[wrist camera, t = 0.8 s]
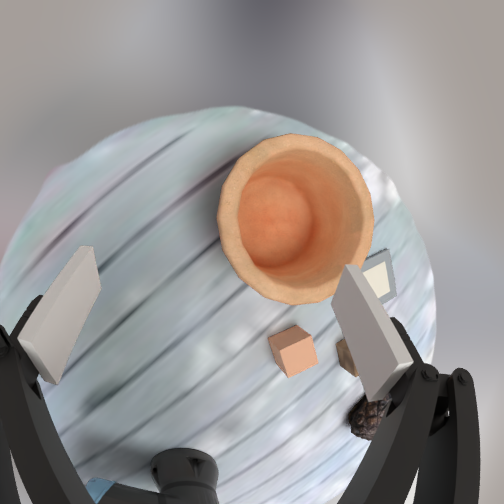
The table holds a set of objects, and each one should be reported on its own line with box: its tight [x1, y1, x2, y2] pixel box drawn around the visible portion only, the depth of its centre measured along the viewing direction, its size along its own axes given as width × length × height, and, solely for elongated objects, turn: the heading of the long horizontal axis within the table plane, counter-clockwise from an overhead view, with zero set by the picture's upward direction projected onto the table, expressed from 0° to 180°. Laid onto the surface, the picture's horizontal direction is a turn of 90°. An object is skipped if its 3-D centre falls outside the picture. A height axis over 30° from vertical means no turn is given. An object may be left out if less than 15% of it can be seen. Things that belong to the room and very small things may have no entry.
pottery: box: [217, 133, 374, 305], centre depth 41 cm, size 22×22×14 cm
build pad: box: [361, 249, 397, 304], centre depth 54 cm, size 11×11×1 cm
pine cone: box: [349, 393, 391, 441], centre depth 54 cm, size 10×18×10 cm, turn 142°
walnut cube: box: [336, 339, 359, 377], centre depth 52 cm, size 6×6×6 cm
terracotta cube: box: [268, 325, 318, 378], centre depth 47 cm, size 6×6×6 cm
